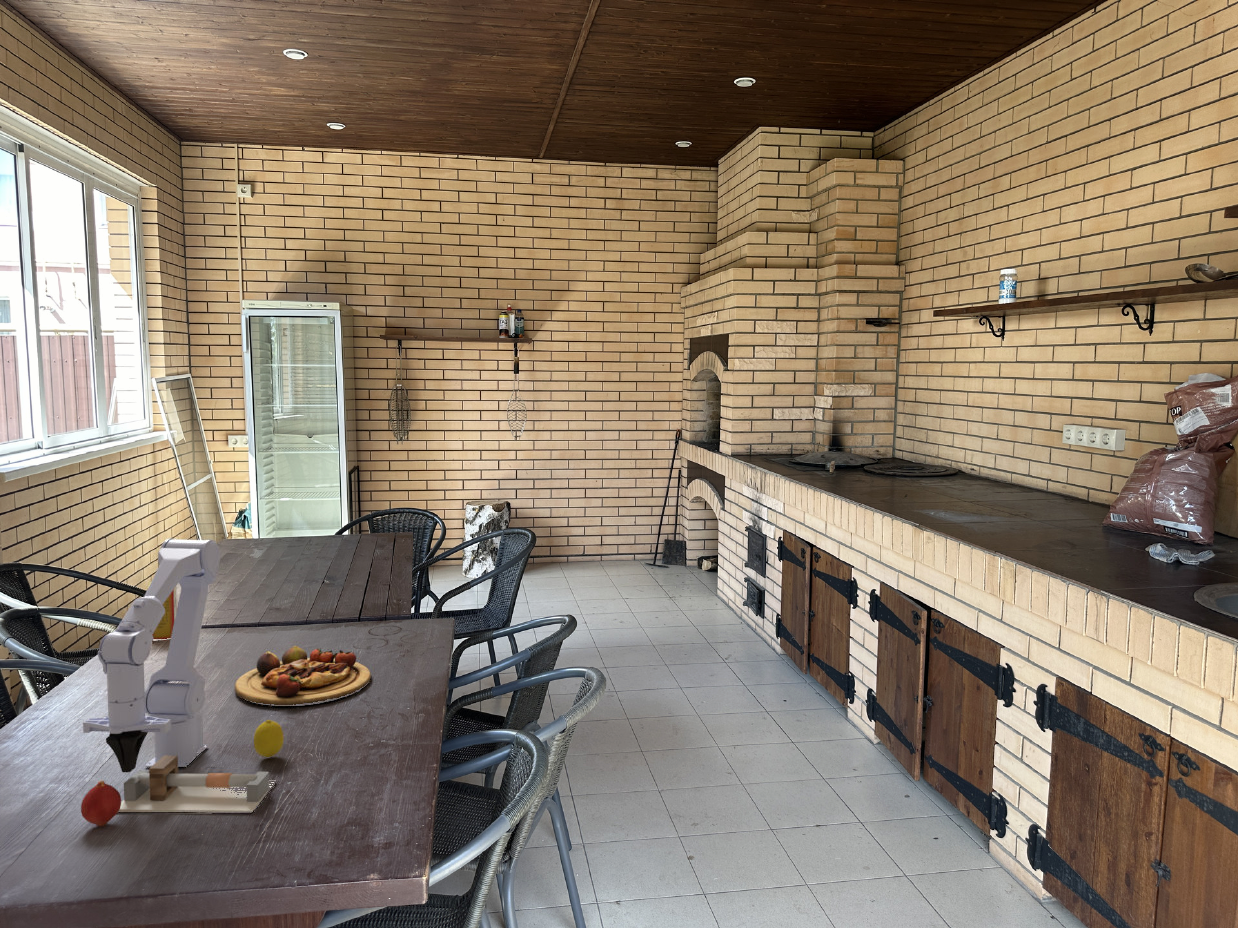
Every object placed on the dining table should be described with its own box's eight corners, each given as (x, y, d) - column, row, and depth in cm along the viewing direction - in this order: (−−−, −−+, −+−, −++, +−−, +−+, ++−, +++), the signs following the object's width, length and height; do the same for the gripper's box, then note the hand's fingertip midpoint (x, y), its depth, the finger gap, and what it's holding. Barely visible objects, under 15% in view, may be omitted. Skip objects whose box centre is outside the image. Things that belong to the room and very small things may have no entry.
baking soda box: (174, 639, 239) (173, 585, 237) (149, 641, 236) (147, 587, 234) (177, 630, 247) (175, 578, 246) (152, 632, 245) (150, 579, 243)
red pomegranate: (76, 826, 139) (74, 780, 138) (113, 812, 144) (112, 768, 143) (89, 838, 136) (87, 792, 135) (127, 824, 140) (126, 779, 139)
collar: (150, 799, 147) (149, 768, 146) (165, 785, 152) (164, 755, 151) (163, 800, 147) (162, 768, 146) (178, 785, 152) (177, 755, 152)
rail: (113, 812, 144) (112, 787, 143) (147, 782, 155) (146, 758, 154) (252, 813, 145) (251, 788, 144) (276, 783, 156) (276, 760, 155)
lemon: (287, 752, 169) (287, 714, 168) (277, 764, 163) (277, 725, 162) (260, 751, 169) (259, 714, 168) (249, 764, 163) (248, 725, 162)
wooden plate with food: (327, 716, 188) (327, 681, 187) (204, 700, 194) (204, 666, 193) (393, 672, 219) (393, 642, 218) (285, 660, 225) (286, 630, 225)
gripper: (71, 705, 143) (74, 779, 145) (155, 706, 144) (157, 780, 145) (95, 690, 150) (98, 761, 152) (176, 691, 151) (178, 762, 152)
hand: (128, 769), depth 149 cm, fingers closed
